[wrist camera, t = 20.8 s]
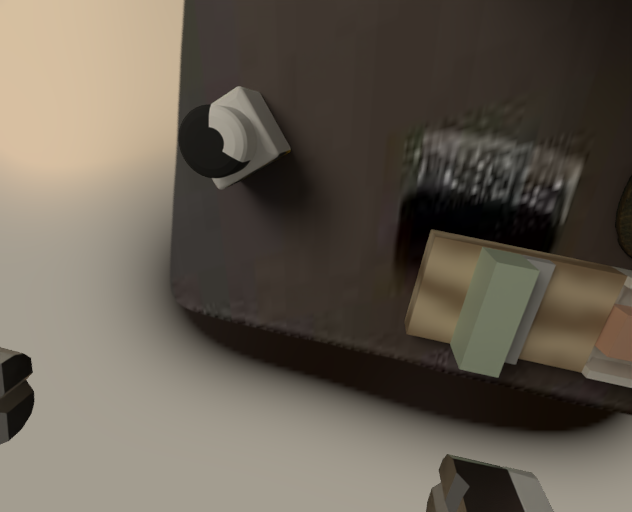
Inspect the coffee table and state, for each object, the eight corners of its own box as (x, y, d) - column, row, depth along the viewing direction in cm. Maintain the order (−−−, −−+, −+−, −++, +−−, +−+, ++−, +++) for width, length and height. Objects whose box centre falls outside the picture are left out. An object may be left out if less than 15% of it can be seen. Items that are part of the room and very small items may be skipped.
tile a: (609, 302, 43) (628, 315, 41) (654, 311, 43) (676, 324, 41) (590, 341, 45) (607, 356, 42) (633, 350, 45) (653, 365, 42)
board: (431, 229, 45) (435, 236, 42) (611, 266, 44) (627, 275, 41) (404, 321, 49) (406, 333, 46) (568, 357, 48) (581, 372, 45)
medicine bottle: (240, 181, 46) (199, 200, 35) (206, 124, 45) (151, 125, 33) (292, 150, 44) (267, 160, 33) (259, 90, 43) (220, 78, 32)
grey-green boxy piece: (482, 246, 42) (496, 262, 37) (549, 260, 42) (572, 277, 37) (450, 343, 46) (459, 369, 41) (510, 357, 46) (527, 384, 41)
